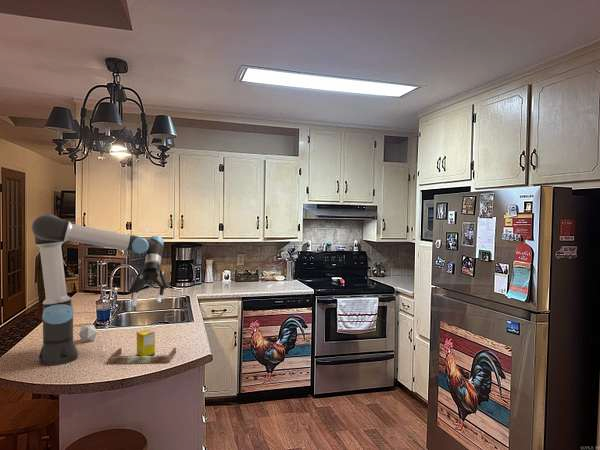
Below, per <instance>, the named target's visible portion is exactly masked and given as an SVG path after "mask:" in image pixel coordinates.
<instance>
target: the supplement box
mask: <svg viewBox="0 0 600 450" xmlns="http://www.w3.org/2000/svg"><path fill="white" fill-rule="evenodd" d="M155 334H156V332H155V331H153V330H149V329H146V330H142V331H137V332H136V357H140V356H156V341H155V340H156V339H155V338H156V335H155Z"/></svg>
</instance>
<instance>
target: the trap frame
mask: <svg viewBox="0 0 600 450" xmlns="http://www.w3.org/2000/svg"><path fill="white" fill-rule="evenodd" d="M176 354H177V347H173V349H172V350H171V351H170V352H169V354H168V355H153V356H140V357H139V356H134V355H122V348H120V347H119V348H118V349H117V350H115V352H113V353H112V354H110V356H109V357H107V358H108V363H107V364H146V363H147V364H154V363H156V364H157V363H160V364H161V363H167V364H168V363H170V362H171V361H172V359H173V358H174V357H175V356H176Z"/></svg>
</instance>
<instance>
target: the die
mask: <svg viewBox="0 0 600 450" xmlns="http://www.w3.org/2000/svg"><path fill="white" fill-rule="evenodd" d="M97 334H98V331H97V329H96V327H95V325H94V324H90V325H89V324H88V325H82V326H81V328H80V331H79V333H78V335H79V338H80V340H81V342H82V343H88V342H94V341H95V339H96V336H97Z"/></svg>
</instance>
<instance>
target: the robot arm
mask: <svg viewBox="0 0 600 450" xmlns="http://www.w3.org/2000/svg"><path fill="white" fill-rule="evenodd" d="M31 231H32V234H33V236H34V244H35V246H36V247H38V248H39V253H40V262H41V268H42V269H41V271H42V278H43V285H44V293H45V299H44V300H43V301H42V309H43V311H42V315H41V318H42V345H41V349H40V352H39V354H38V364H39V365H43V366H57V365H64V364H67V363H70V362H73V361H75V360H76V359H77V358H79V356H78V355H79V351H78V349H77V346H76V343H75V342H74V341H75V340H74V309H73V304H72V298H71V297H70V296H69V295H68V292H67V285H66V275H65V269H64V258H63V250H62V245H63V244H64V243H65V242H67V241H70V242H75V243H82V244H86V245H93V246H99V247H103V248H109V249H116V250H120V251H121V250H122V251H127V252H132V253H136V254H146V256H145V260H144V265H143V274H140V273H138V274H137V276H136V279H135V280H134V282H133V283H132V285H131V286H130V288H129V289H128V292H129V293H130V294H131V298H130V299H131V306H133V308H134V307H137V302H138V297H139V296H138V295H139V294H138V293H139V292H140V291H141V289H142V288H143V287H144V286H145V285H147V283H150V282H151V283H152V282H155V283H156V284H157V285H158V288H157V293H156V300H155V301H156V302H157V303H159V304H160V303H161V302H162V296H163V295H164V291H165V289H167V288H169V284H168V282H167V280H166V277H165V271H164V270H162V269H161V262H162V255H163V252H164V251H163V250H164V241H165V240H164V239H163V238H162V237H161V236H159V235H156V236H155V235H153V236H150V237H149V238H146V237H141V236H138V235H134V234H129V233H128V234H126V233H125V234H124V233H121V232H120V233H119V232H114V231H110V230H105V229H99V228H95V227H90V226H83V225H78V224H75V223H72V222H71V221H70V220H66V219H62V218H60V217H58V216H56V215H54V214H51V213H49V214H48V213H47V214H41V215H38V217H35V219H33V221H32V224H31ZM158 276H159V277H160V280H161V281H160V280H159V278H158Z"/></svg>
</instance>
